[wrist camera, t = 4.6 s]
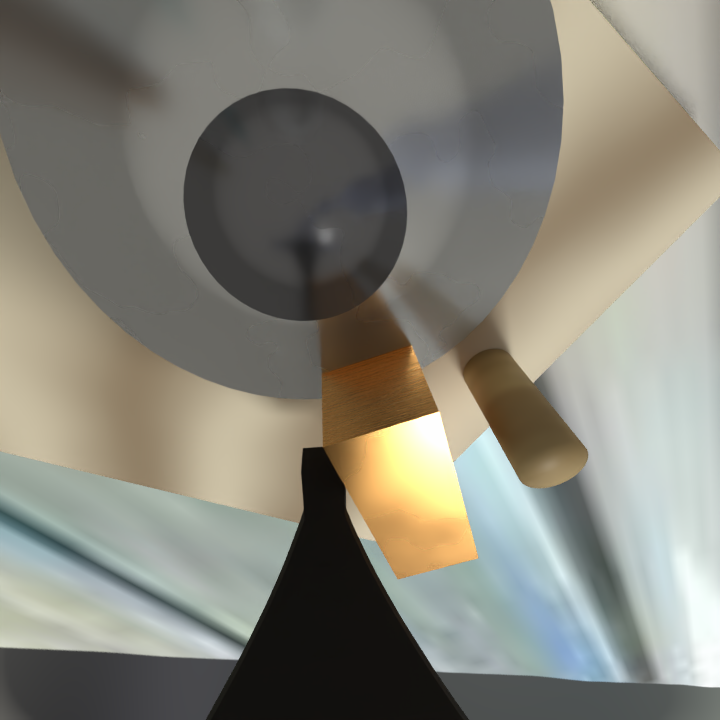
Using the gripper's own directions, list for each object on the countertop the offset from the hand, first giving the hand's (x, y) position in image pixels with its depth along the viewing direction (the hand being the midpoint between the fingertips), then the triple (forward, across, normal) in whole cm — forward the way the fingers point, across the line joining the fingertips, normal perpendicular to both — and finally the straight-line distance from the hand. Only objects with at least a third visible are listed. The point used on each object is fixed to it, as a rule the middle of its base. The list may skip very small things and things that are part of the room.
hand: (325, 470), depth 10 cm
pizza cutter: (+2, -1, -5) cm, 5 cm away
